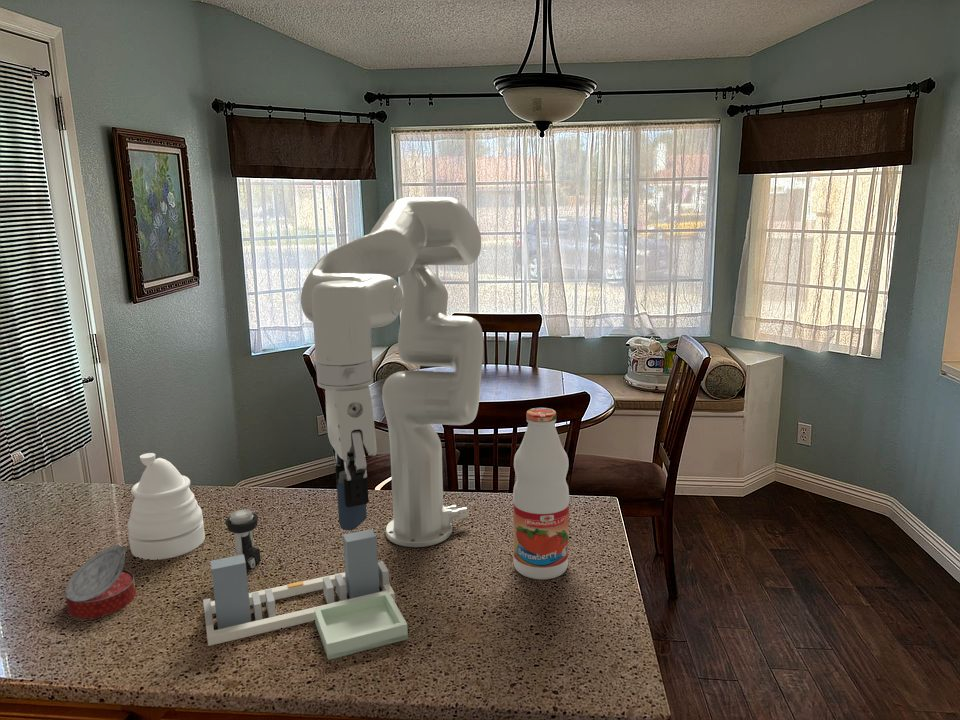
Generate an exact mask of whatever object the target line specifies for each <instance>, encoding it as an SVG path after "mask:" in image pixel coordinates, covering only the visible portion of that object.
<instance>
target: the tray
mask: <svg viewBox="0 0 960 720" xmlns="http://www.w3.org/2000/svg"><path fill="white" fill-rule="evenodd" d="M314 615H315V621H314V623H315V627H316V630H317V633H318V636H319V639H320V641H321V645H322V646H323V649H324V653H325V655H326V658H327V660H328V661H330V660H334V659H338V658H342V657H346V656H349V655H353V654H357V653H360V652H364V651H367V650H368V651H369V650H372V649H376V648H379V647H384V646H387V645H391V644H396V643H400V642H402V641H406V640H409V637H408V636H409V633H408V632H409V631H408V623H407V621H406V620H405V617H404V615H403V614H402V612H401V611H400V609H399V607H398V605H397V604H396V601H394V600H393V598H392V596H391V595H390V593H389V591H388V592H383V593H379V594H375V595H371V596H366V597H362V598H358V599H353V600H349V601H345V602H341V603H336V604H332V605H328V606H323V607H319V608H315V609H314Z"/></svg>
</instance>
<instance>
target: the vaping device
mask: <svg viewBox="0 0 960 720" xmlns="http://www.w3.org/2000/svg"><path fill="white" fill-rule="evenodd" d="M347 455H348V456H349V457H351V456H354V454H353V453H347ZM349 463H350V469H351V466H352V465H354V463H355V461H354V462H349ZM343 479H346V476H345V470H344V471H341V472H339V479H338V485H337V486H336V495H337V510H338V511H337V512H338V524H339V526H340V529H341V530H344V531H353V530H355V529H357V528H358V527H359V526H360V525H361V524H362V523H363V522H364V521H366V520H367V516H368V515H367V504H364V505H358V506H353V507H346V505H345V496H344V481H343Z"/></svg>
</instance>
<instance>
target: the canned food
mask: <svg viewBox="0 0 960 720" xmlns="http://www.w3.org/2000/svg"><path fill="white" fill-rule="evenodd" d="M125 557H126V548H125V547H124V546H122V545H120V544H119V545H118V544H115V545H112V546H108V547H107V548H104V549H103V550H101V551H99V552H97V553H96V554H95V555H93V556H92V557H91V558H89V559H88V560H86V561H85V562H84V564H82V565H81V567H79V568H78V569H76V571H75V572H74V573H73V575H72V576H71V578H70V579H69V581H68V582H67V586H66V588H65V591H64V596H65V601H66V606H67V612H68V614H69V615H70V616H72V617H75V618H78V619H79V618H80V619H94V618H93V617H95V618H98V617H99V616H100V617H103V615H104V616H107V615H106V614H108V613H111V614H113V613H115V612H114V611H116V612H118V611H120V610H122V609H123V607H124V608H125V607H127V606H128V605H129V604H131V603H132V602H133V600H134V599H135V598H136V595H135V594H137V591H136V586H135V585H136V584H135V577H134V574H133V573H132V572H130V571H129V570H127V569H124V566H125ZM134 597H135V598H134ZM130 602H131V603H130ZM127 604H128V605H127ZM126 605H127V606H126ZM121 608H122V609H121ZM119 609H120V610H119ZM117 610H118V611H117ZM112 612H113V613H112ZM108 615H109V614H108Z"/></svg>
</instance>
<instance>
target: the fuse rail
mask: <svg viewBox="0 0 960 720" xmlns="http://www.w3.org/2000/svg"><path fill="white" fill-rule="evenodd" d="M377 538H378V537H377V535H376V533H375V532H374V530H373V528H369V529H363V530H360V531H355V532H350V533H344V534H342V541H343V542H342V543H343V547H342V548H343V560H344V561H343V562H344V572H339V573H335V574H330V575H325V576H322V577H321V576H320V577H317V578H311V579H307V580H302V581H301V580H300V581H296V582H293V583H292V582H291V583H288V584H285V585H281V586H276V587H270V588H266V589H262V590H256V591H252V592H249V583H248V572H247V571H248V570H246V562H245V558H244V554H243V555H237V556H236V555H234V556H228V557H223V558H218V559H213V560H210V561H209V563H210V571H211V572H210V573H211V576H212V577H211V579H212V589H213V597H214V600H211V598H210V597H209V598H204V599H202V603H203V610H204V612H203V613H204V620H205V621H204V623H205V629H206V630H205V631H206V638H207V647H210V646H215V645H218V644H222V643H226V642H231V641H235V640H239V639H244V638H247V637H251V636H256V635H260V634H264V633H268V632H273V631H276V630H281V628H282V629H286V628H289V627H293V626H297V625H301V624H302V625H303V624H307V623H310V622H315V621H314V620H315V615H314V609H315V608H319V607H323V606H328V605H332V604H336V603H341V602H345V601H349V600H353V599H358V598H362V597H366V596H371V595H375V594H379V593H383V592H388V591H389V593H390V595H391V596H392V598H393V600H394V602H396V593H395V591H394V590H393V587H392V586H391V583H390V571H389V569H388V567H387V566H386V564H385V562H384V560H381V561H379V557H378V541H377V540H378V539H377ZM334 589H335V591H334ZM380 589H381V591H380ZM321 590H323V596H324V598H325V602H326V604H322V605H319V606H318V605H317V606H313V607H310V608H305V609H300V610H297V611H291V612H288V613H283V614H279V615H278V614H277V613H276V612H277V611H276V600H281V599H286V598H290V597H295V596H298V595H303V594H308V593H311V592H316V591H321ZM335 592H336V593H335ZM335 594H336V595H337V597H338V601H335ZM348 597H349V598H348ZM262 603H263V604H264V603H265V604H266V607H265V608H266V611H267V614H268V617H266V618H263V611H262V610H263V609H262ZM251 606H252V611H253V615H254V620H252V613H251ZM213 614H215V615H216V617H215V618H216V623H217V629H214V621H213Z"/></svg>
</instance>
